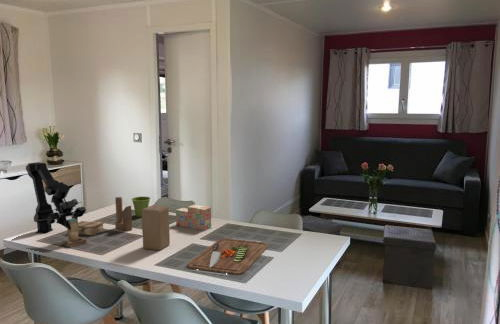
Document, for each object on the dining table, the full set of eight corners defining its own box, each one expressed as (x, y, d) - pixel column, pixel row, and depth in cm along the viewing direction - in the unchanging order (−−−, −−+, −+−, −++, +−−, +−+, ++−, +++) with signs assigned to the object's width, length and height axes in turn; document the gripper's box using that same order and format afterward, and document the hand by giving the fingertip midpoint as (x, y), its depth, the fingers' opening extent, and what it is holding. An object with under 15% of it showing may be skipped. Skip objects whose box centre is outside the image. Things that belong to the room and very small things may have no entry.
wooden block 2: (127, 231, 233) (125, 200, 231) (115, 228, 240) (113, 197, 237) (132, 229, 236) (131, 198, 234) (120, 226, 243) (119, 196, 240)
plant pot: (128, 217, 262) (128, 200, 260) (137, 213, 274) (136, 196, 272) (146, 218, 260) (145, 200, 258) (154, 213, 272) (153, 196, 270)
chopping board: (240, 279, 170) (240, 271, 169) (181, 270, 179) (181, 264, 178) (271, 244, 212) (271, 238, 211) (222, 239, 221) (222, 233, 220)
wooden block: (170, 244, 211) (169, 206, 208) (160, 251, 201) (158, 210, 199) (153, 242, 214) (151, 204, 211) (142, 249, 205) (140, 209, 202)
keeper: (61, 244, 212) (61, 240, 212) (77, 240, 219) (77, 236, 219) (70, 247, 207) (70, 243, 207) (86, 243, 214) (86, 239, 214)
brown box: (71, 234, 229) (70, 226, 228) (82, 228, 239) (81, 221, 238) (93, 235, 226) (93, 227, 226) (104, 230, 236) (103, 222, 236)
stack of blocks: (176, 225, 245) (175, 204, 244) (183, 222, 251) (182, 202, 249) (204, 230, 234) (204, 209, 233) (211, 228, 239) (211, 207, 238)
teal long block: (68, 240, 213) (66, 219, 211) (74, 238, 216) (73, 218, 214) (72, 242, 211) (70, 220, 209) (78, 240, 213) (77, 219, 212)
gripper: (48, 197, 205) (61, 223, 200) (82, 191, 220) (96, 215, 215) (41, 211, 210) (54, 236, 206) (75, 204, 225) (88, 227, 220)
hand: (74, 228), depth 211 cm, fingers closed on teal long block, 4 cm apart
